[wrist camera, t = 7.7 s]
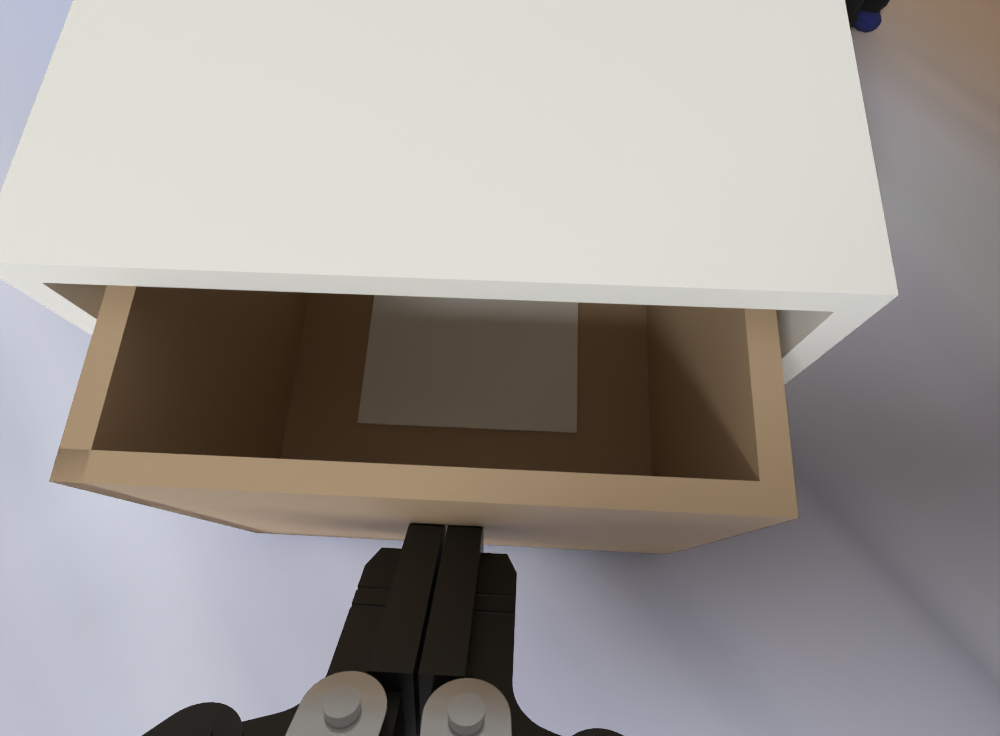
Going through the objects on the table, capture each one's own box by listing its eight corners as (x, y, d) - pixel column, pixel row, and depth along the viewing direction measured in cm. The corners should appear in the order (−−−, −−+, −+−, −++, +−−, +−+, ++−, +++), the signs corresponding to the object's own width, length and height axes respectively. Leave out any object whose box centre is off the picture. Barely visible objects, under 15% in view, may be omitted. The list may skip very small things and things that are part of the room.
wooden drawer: (669, 553, 16) (798, 518, 9) (256, 532, 17) (49, 481, 9) (644, -84, 25) (701, -382, 17) (366, -87, 25) (302, -380, 18)
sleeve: (709, 446, 18) (910, 292, 9) (236, 425, 18) (-36, 259, 9) (687, 106, 22) (809, -238, 13) (302, 97, 22) (158, -241, 13)
